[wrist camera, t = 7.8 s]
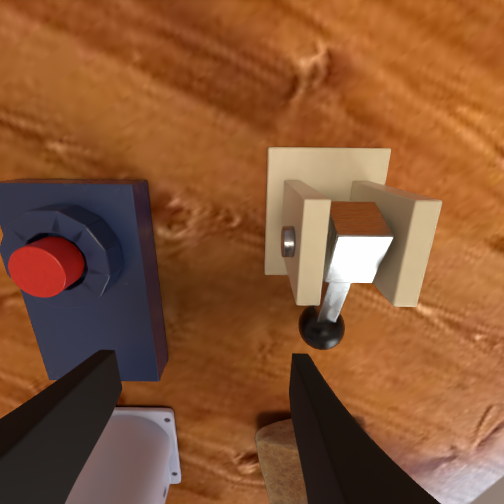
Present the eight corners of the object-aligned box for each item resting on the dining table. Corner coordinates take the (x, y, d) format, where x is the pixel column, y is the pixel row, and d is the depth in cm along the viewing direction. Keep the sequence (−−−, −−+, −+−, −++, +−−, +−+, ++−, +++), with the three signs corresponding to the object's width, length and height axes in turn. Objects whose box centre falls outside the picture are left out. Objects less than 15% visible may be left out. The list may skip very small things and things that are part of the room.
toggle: (334, 319, 19) (343, 358, 17) (293, 318, 19) (298, 357, 17) (380, 198, 12) (405, 239, 10) (318, 197, 12) (330, 238, 10)
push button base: (168, 359, 22) (150, 401, 18) (68, 357, 22) (31, 400, 18) (146, 180, 17) (117, 188, 14) (19, 178, 17) (-46, 186, 14)
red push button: (90, 283, 16) (70, 298, 14) (41, 282, 16) (16, 298, 14) (79, 236, 15) (57, 246, 13) (27, 235, 15) (-1, 246, 13)
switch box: (363, 270, 19) (431, 343, 12) (264, 269, 19) (270, 341, 12) (384, 148, 17) (487, 146, 9) (267, 147, 17) (278, 144, 9)
